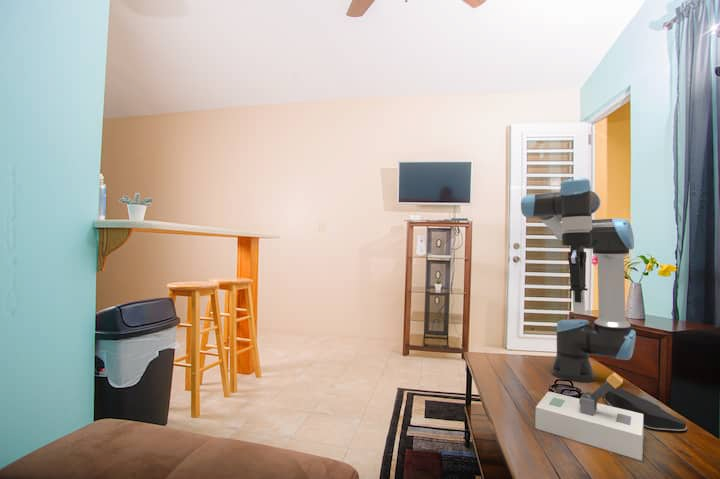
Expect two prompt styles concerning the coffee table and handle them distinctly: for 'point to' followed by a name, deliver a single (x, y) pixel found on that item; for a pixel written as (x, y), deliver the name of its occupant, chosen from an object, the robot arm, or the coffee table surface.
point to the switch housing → (592, 423)
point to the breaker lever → (604, 388)
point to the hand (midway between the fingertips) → (579, 313)
